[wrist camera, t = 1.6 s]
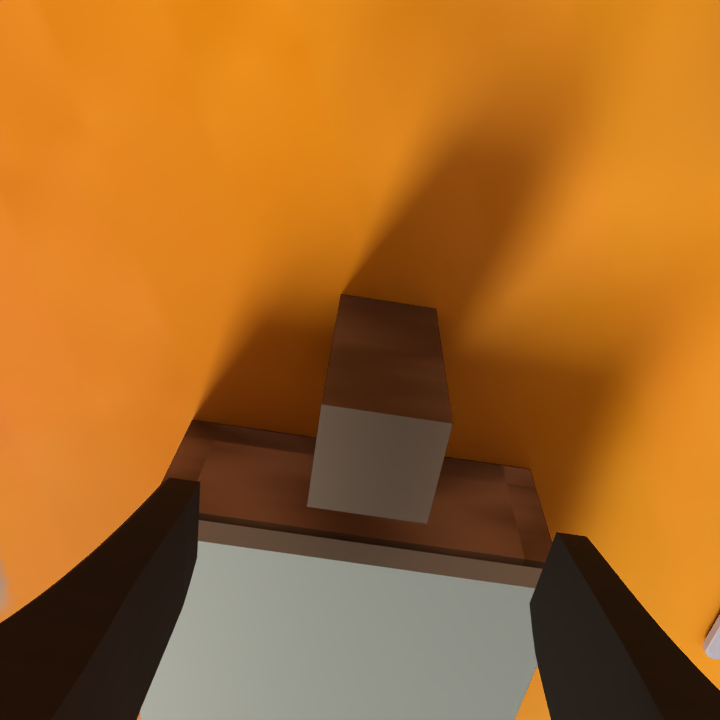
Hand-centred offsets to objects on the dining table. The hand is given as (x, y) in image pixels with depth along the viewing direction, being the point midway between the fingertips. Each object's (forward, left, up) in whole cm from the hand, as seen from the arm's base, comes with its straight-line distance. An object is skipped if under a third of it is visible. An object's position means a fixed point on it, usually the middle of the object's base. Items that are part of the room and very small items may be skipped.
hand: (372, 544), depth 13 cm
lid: (0, +11, -4) cm, 12 cm away
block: (0, 0, -9) cm, 9 cm away
